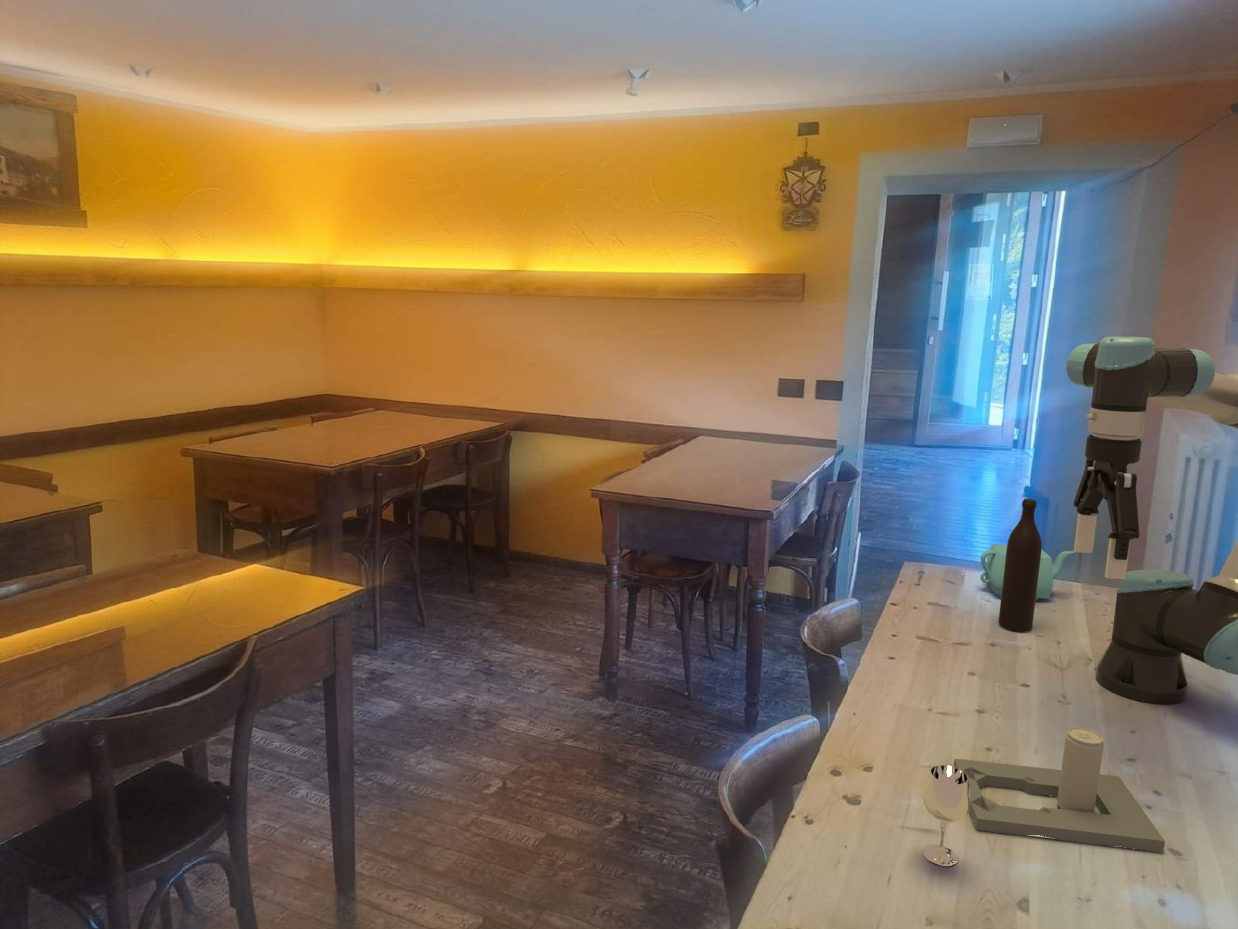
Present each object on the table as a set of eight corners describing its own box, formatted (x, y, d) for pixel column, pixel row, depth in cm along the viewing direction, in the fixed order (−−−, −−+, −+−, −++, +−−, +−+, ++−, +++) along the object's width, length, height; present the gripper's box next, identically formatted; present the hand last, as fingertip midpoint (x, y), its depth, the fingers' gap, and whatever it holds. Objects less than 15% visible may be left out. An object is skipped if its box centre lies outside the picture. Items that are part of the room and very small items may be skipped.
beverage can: (1098, 822, 121) (1109, 745, 118) (1062, 817, 122) (1072, 741, 119) (1087, 803, 125) (1097, 729, 123) (1052, 798, 126) (1062, 725, 124)
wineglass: (910, 843, 115) (918, 763, 113) (951, 841, 116) (959, 762, 113) (929, 871, 110) (937, 788, 107) (971, 869, 110) (981, 786, 108)
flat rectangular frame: (1117, 787, 129) (1118, 776, 129) (1163, 853, 114) (1164, 841, 114) (953, 768, 134) (954, 758, 133) (976, 830, 118) (977, 818, 118)
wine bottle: (1033, 625, 194) (1049, 499, 188) (1029, 635, 188) (1045, 505, 182) (1000, 619, 198) (1014, 494, 192) (995, 628, 192) (1010, 500, 186)
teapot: (1023, 610, 204) (1030, 557, 201) (966, 589, 218) (972, 539, 215) (1069, 598, 213) (1076, 547, 210) (1012, 579, 227) (1017, 530, 224)
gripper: (1062, 423, 145) (1048, 541, 149) (1120, 448, 121) (1102, 588, 125) (1109, 424, 144) (1094, 543, 148) (1177, 450, 120) (1157, 592, 124)
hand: (1098, 564), depth 137 cm, fingers open, 13 cm apart
